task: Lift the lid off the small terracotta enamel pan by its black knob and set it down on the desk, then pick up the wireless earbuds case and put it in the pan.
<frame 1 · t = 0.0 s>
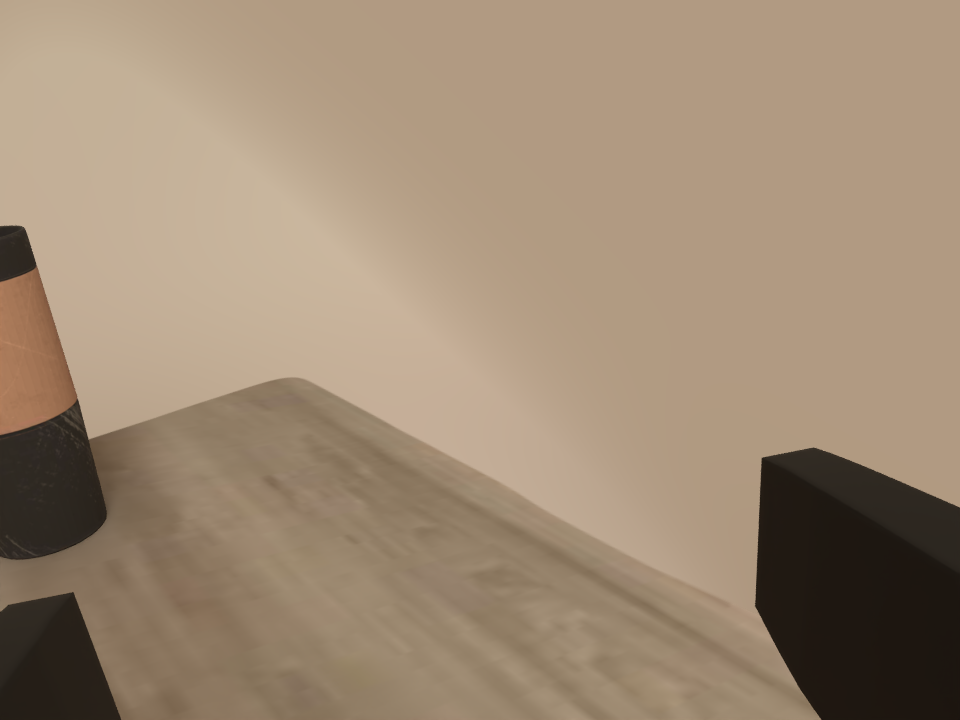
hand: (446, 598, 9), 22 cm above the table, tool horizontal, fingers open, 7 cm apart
travel mug: (52, 532, 58), on the table
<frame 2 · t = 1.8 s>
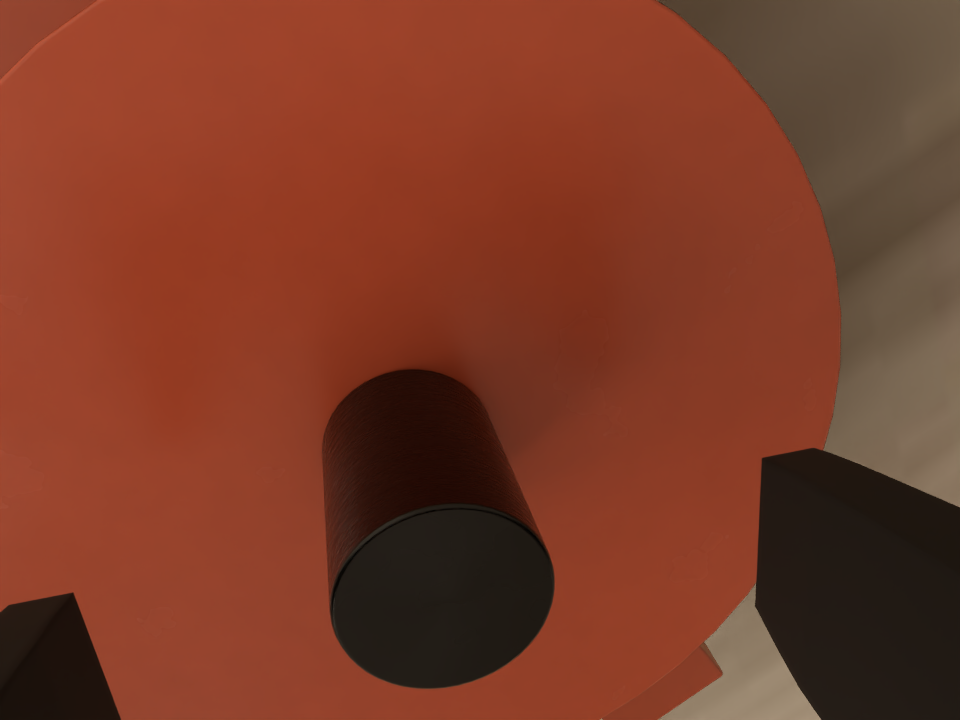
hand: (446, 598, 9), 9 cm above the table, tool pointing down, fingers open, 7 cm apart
pan: (374, 302, 17), on the table
lid: (404, 429, 13), point 5 cm above the table, touching pan
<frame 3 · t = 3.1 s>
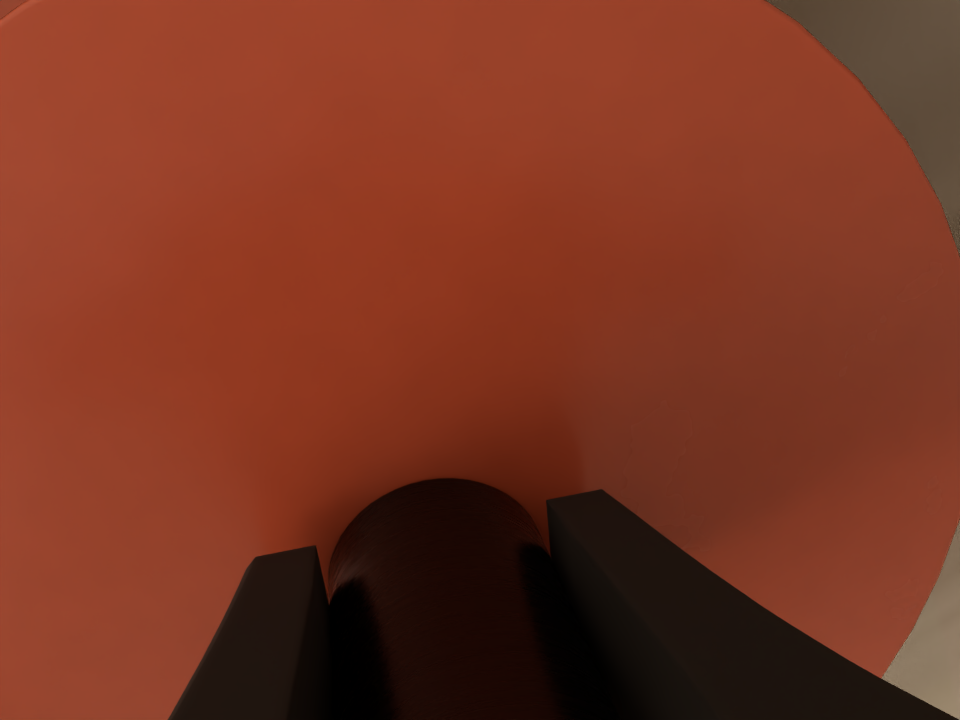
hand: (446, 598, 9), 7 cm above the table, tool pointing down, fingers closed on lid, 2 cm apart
lid: (431, 543, 10), point 5 cm above the table, touching gripper, pan
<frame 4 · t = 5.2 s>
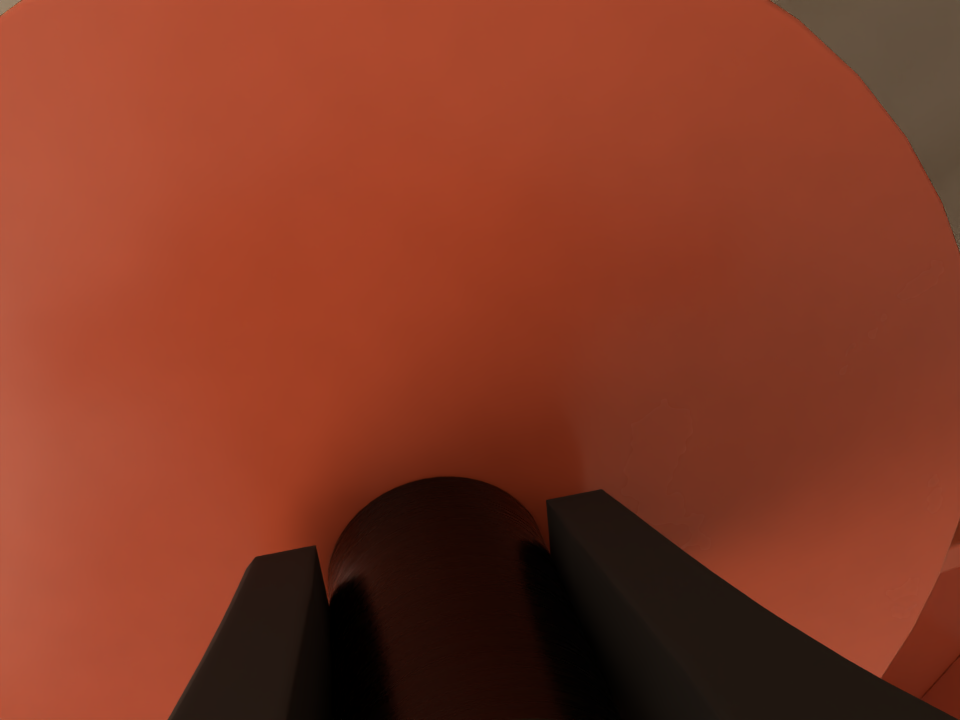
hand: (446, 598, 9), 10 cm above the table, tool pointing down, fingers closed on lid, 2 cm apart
pan: (799, 606, 24), on the table
lid: (431, 541, 10), point 9 cm above the table, touching gripper
when the fingers open (2 cm above the table, at t = 7.6 s): lid stays where it is, point 1 cm above the table.
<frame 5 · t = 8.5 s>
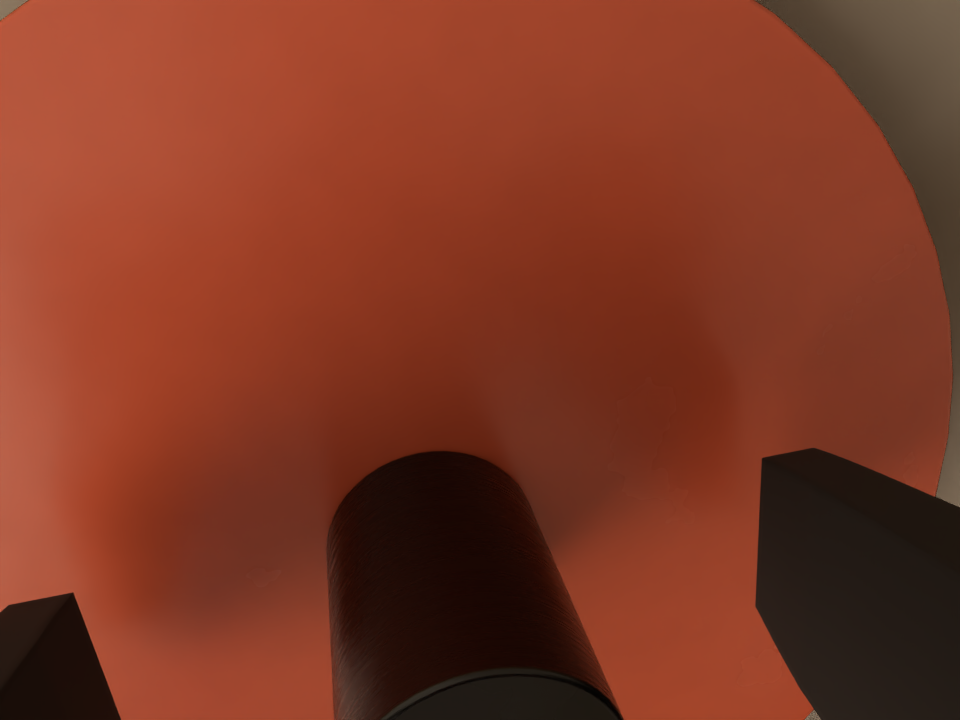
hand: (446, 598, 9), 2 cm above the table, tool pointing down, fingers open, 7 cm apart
lid: (426, 515, 10), point 1 cm above the table
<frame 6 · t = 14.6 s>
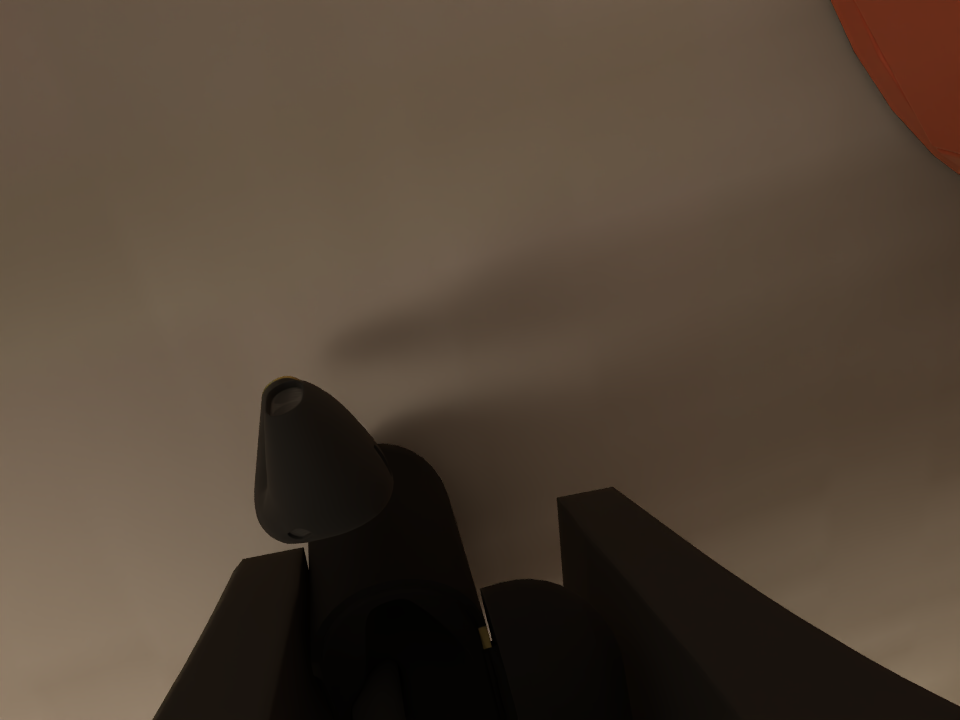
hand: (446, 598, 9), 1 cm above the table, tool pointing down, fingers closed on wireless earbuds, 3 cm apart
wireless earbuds: (426, 514, 11), on the table, touching gripper
when the fingers open (2 cm above the table, at t = 18.6 s): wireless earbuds stays where it is, resting on pan.
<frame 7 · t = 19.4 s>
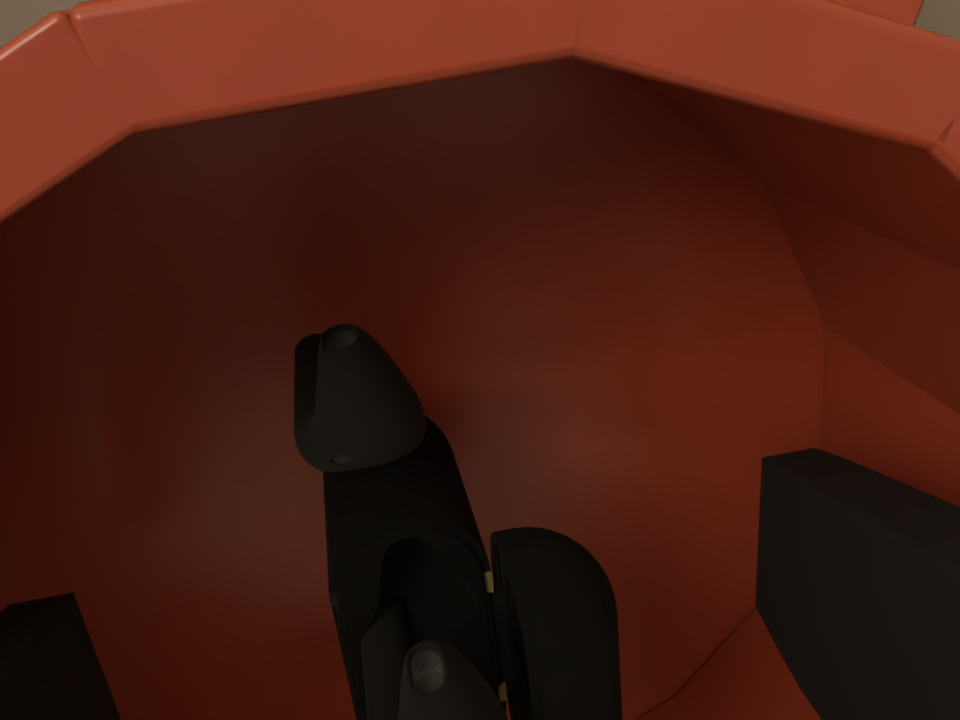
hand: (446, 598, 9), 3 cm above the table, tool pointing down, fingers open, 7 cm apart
pan: (417, 471, 11), on the table
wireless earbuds: (428, 480, 11), resting on pan
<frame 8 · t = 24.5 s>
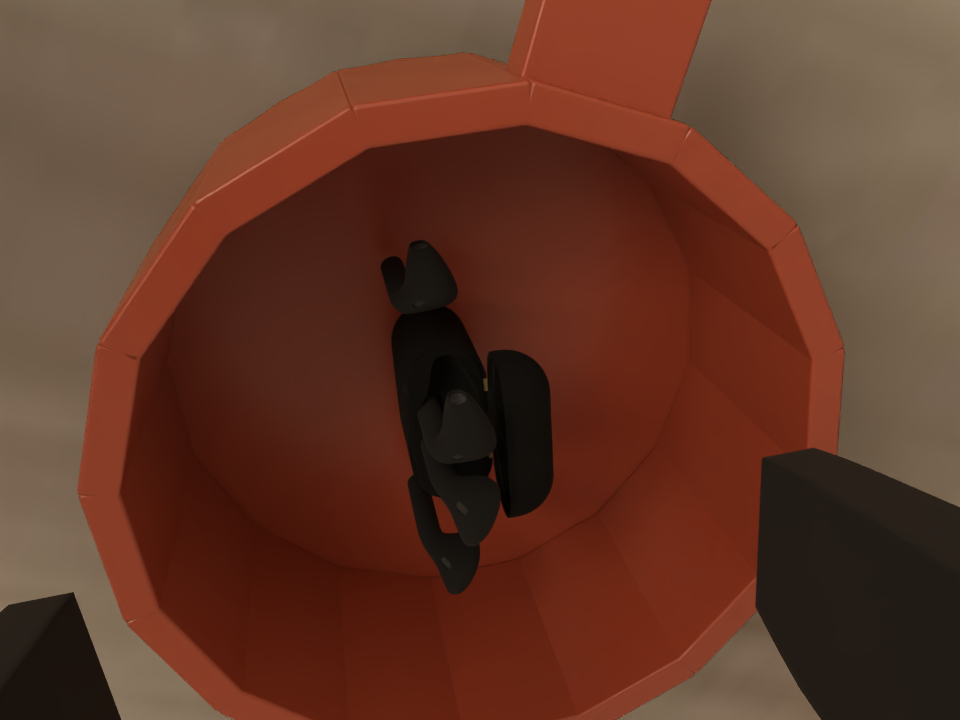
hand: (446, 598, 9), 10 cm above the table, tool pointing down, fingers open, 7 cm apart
pan: (441, 351, 19), on the table
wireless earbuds: (448, 355, 19), resting on pan
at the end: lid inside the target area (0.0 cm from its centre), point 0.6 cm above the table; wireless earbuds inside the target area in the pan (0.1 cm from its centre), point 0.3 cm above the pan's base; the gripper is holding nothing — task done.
